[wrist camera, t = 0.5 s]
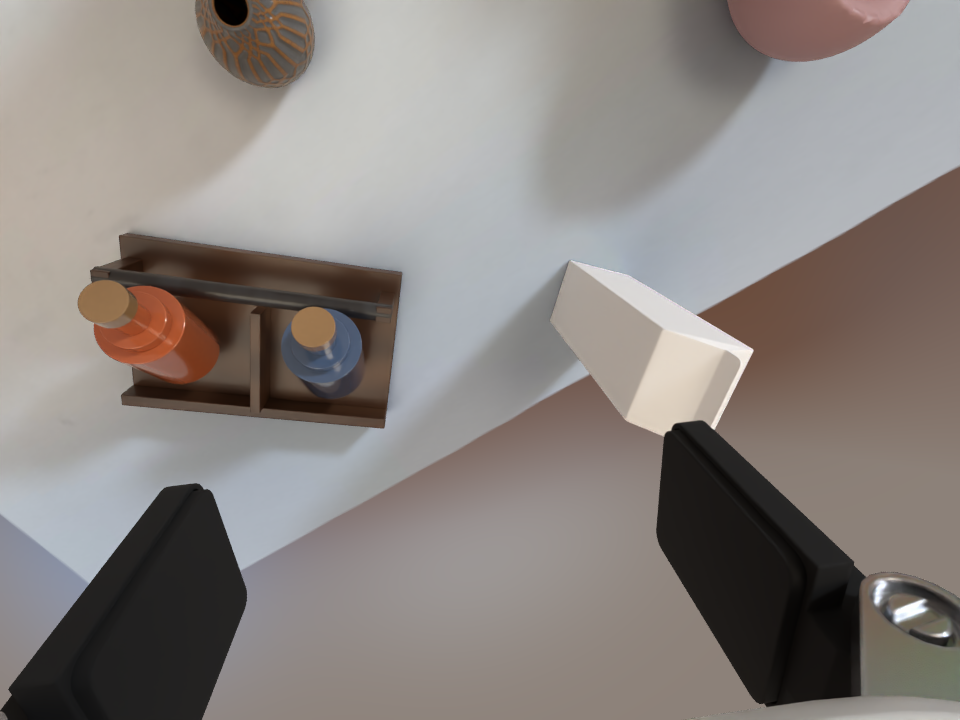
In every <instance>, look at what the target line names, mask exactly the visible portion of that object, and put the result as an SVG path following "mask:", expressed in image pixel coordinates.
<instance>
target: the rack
mask: <svg viewBox="0 0 960 720" xmlns="http://www.w3.org/2000/svg"><path fill="white" fill-rule="evenodd" d="M119 242H120V252H121V259H120V260H117V261H114V262H112V263H109V264H106V265H103V266H100V267H99V266H96V267H94V268H93V269H92V270H90V272H91V281H92V283H94V282H96V281H101V280H111V281H115V282H117V283H119V284H121V285H122V286H124V287H125V288H130V287H135V286H152V287H157V288H160V289H163V290H165V291H167V292H168V293H170V294H171V295H173V296H174V297H175V298H176V299H177V300H179V301H180V302H181V303H182V304H183V305H184V306H186V307H187V308H188V309H189V310H190V311H191V312H193V313H194V314H195V315H196V316H197V317H198V318H200V319H201V320H202V321H203V322H204V323H205V324H207V325H208V326H209V327H210V328H211V329H212V330H213V331H214V333H215V334H216V336H217V338H218V341H219V348H220V351H219V356H218V359H217V362H216V364H215V365H214V367H213V368H212V369H211V371H210V372H209V373H208V374H206V375H205V376H204V377H202V378H200V379H199V380H196V381H194V382H191V383H186V384H173V383H168V382H165V381H163V380H161V379H158V378H156V377H154V376H151V375H149V374H147V373H145V372H142V371H140V370H138V369H135V368H133V367H132V372H133V382H134V385H133V386H132V387H130V388H129V389H128V390H127V391H125V392H124V393H123V394H122V395H121V398H122V405H129V406H140V407H151V408H162V409H173V410H184V411H195V412H206V413H217V414H228V415H239V416H251V417H262V418H273V419H284V420H295V421H306V422H317V423H328V424H339V425H350V426H361V427H372V428H384V427H385V419H386V412H387V403H388V394H389V385H390V376H391V368H392V359H393V350H394V341H395V332H396V323H397V314H398V305H399V297H400V288H401V279H402V272H396V271H389V270H382V269H375V268H368V267H361V266H354V265H347V264H340V263H333V262H326V261H319V260H312V259H305V258H298V257H291V256H284V255H277V254H270V253H263V252H256V251H249V250H242V249H235V248H228V247H220V246H213V245H206V244H199V243H192V242H185V241H178V240H171V239H164V238H157V237H150V236H143V235H136V234H129V233H126V234H123V235H119ZM307 307H320V308H326V309H332V310H336V311H338V312H341V313H343V314H344V315H346V316H347V317H349V318H350V319H351V320H352V321H353V322H354V324H355V325H356V326H357V328H358V330H359V333H360V335H361V340H362V346H363V352H364V358H365V374H364V377H363V380H362V382H361V383H360V385H359V386H358V387H357V388H356V389H355V390H354V391H353V392H352V393H350V394H348V395H346V396H344V397H341V398H337V399H325V398H321V397H318V396H316V395H314V394H312V393H311V392H310V391H308V390H307V389H306V388H305V386H304V385H303V384H302V383H301V382H300V381H299V380H298V378H297V377H296V376H295V375H294V374H293V373H292V372H291V371H290V369H289V368H288V367H287V365H286V364H285V362H284V359H283V356H282V352H281V341H282V337H283V334H284V331H285V329H286V328H287V326H288V325H289V323H290V322H291V321H292V320H293V318H294V316H295V315H296V314H297V313H298V312H299V311H300V310H302V309H304V308H307Z"/></svg>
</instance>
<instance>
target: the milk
mask: <svg viewBox="0 0 960 720" xmlns="http://www.w3.org/2000/svg"><path fill="white" fill-rule="evenodd" d="M550 322H551V323H552V324H553V326H554V327H555V328H556V330H557V331H558V332H559V334H560V335H561V336H562V338H563V339H564V340H565V342H566V343H567V344H568V346H569V347H570V348H571V349H572V351H573V352H574V353H575V355H576V356H577V357H578V359H579V360H580V361H581V363H582V364H583V365H584V367H585V368H586V369H587V370H588V372H589V373H590V374H591V376H592V377H593V378H594V380H595V381H596V382H597V383H598V385H599V386H600V388H601V389H602V390H603V392H604V393H605V394H606V395H607V397H608V398H609V399H610V401H611V402H612V403H613V405H614V406H615V407H616V409H617V410H618V411H619V413H620V414H621V415H622V416H623V418H624V419H625V420H626V421H628V422H630V423H632V424H635V425H637V426H640V427H642V428H644V429H647V430H650V431H652V432H654V433H657V434H659V435H661V436H664V435H665V433H666V432H667V431H671V429H672V426H673V425H674V424H675V423H681V422H689V421H697V420H703V421H704V422H706V423H707V424H708V425H709V426H710V427H711V428H712V429H715V427H716V425H717V423H718V421H719V419H720V417H721V415H722V413H723V411H724V409H725V407H726V405H727V403H728V401H729V399H730V397H731V395H732V393H733V391H734V389H735V387H736V385H737V383H738V381H739V379H740V377H741V375H742V373H743V370H744V368H745V366H746V365H747V363H748V361H749V359H750V357H751V354H752V353H753V349H752V348H750V347H748V346H747V345H745V344H743V343H741V342H740V341H738V340H736V339H735V338H733V337H732V336H730V335H728V334H726V333H725V332H723V331H721V330H720V329H718V328H716V327H715V326H713V325H711V324H710V323H708V322H706V321H705V320H703V319H701V318H700V317H698V316H696V315H695V314H693V313H691V312H690V311H688V310H686V309H685V308H683V307H681V306H680V305H678V304H676V303H675V302H673V301H671V300H669V299H668V298H666V297H664V296H663V295H661V294H659V293H658V292H656V291H654V290H653V289H651V288H649V287H648V286H646V285H644V284H643V283H641V282H639V281H638V280H636V279H634V278H633V277H631V276H629V275H627V274H623V273H619V272H615V271H611V270H607V269H603V268H599V267H595V266H591V265H587V264H583V263H579V262H575V261H571V260H570V261H569V264H568V267H567V270H566V273H565V276H564V279H563V282H562V285H561V288H560V291H559V294H558V297H557V300H556V303H555V306H554V309H553V312H552V315H551V318H550Z"/></svg>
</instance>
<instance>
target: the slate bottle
mask: <svg viewBox="0 0 960 720" xmlns="http://www.w3.org/2000/svg"><path fill="white" fill-rule="evenodd" d="M281 352H282V356H283V359H284V362H285V364H286V365H287V367H288V368H289V369H290V371H291V372H292V373H293V374H294V375H295V376H296V377H297V378H298V380H299V381H300V382H301V383H302V384H303V385H304V386H305V388H306V389H307V390H308V391H310V392H311V393H312V394H314V395H316V396H318V397H321V398H325V399H337V398H341V397H344V396H346V395H348V394H350V393H352V392H353V391H354V390H355V389H356V388H357V387H358V386H359V385H360V383H361V382H362V380H363V377H364V374H365V358H364V352H363V346H362V340H361V335H360V333H359V330H358V328H357V326H356V325H355V324H354V322H353V321H352V320H351V319H350V318H349V317H347V316H346V315H344V314H343V313H341V312H338V311H336V310H332V309H326V308H320V307H307V308H304V309H302V310H300V311H299V312H298V313H297V314H296V315H295V316H294V318H293V320H292V321H291V322H290V323H289V325H288V326H287V328H286V329H285V331H284V334H283V337H282V341H281Z"/></svg>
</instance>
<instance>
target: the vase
mask: <svg viewBox="0 0 960 720" xmlns="http://www.w3.org/2000/svg"><path fill="white" fill-rule="evenodd" d="M195 11H196V19H197V23H198V27H199V30H200V33H201V36H202V38H203V40H204V42H205V44H206V46H207V47H208V49H209V51H210V52H211V54H212V55H213V57H214V58H215V59H216V60H217V61H218V62H219V64H220V65H221V66H222V67H224V68H225V69H226V70H227V71H228V72H229V73H231V74H232V75H233V76H235V77H237V78H238V79H240V80H242V81H244V82H246V83H249V84H251V85H255V86H259V87H265V88H276V87H282V86H285V85H288V84H290V83H292V82H294V81H295V80H297V79H298V78H299V77H300V76H301V75H302V74H303V73H304V72H305V70H306V69H307V67H308V65H309V63H310V61H311V59H312V55H313V51H314V42H315V36H314V27H313V23H312V19H311V16H310V13H309V11H308V9H307V6H306V4H305V2H304V1H303V0H196V2H195Z"/></svg>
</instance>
